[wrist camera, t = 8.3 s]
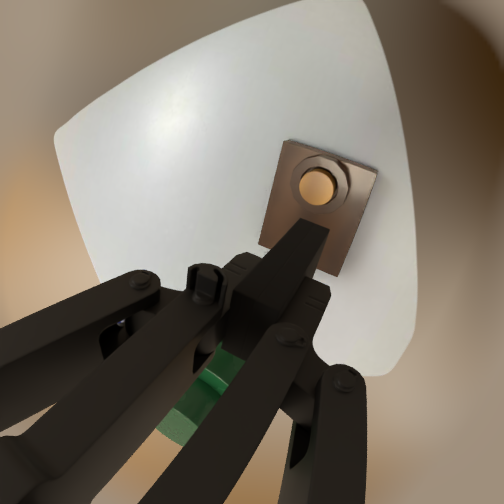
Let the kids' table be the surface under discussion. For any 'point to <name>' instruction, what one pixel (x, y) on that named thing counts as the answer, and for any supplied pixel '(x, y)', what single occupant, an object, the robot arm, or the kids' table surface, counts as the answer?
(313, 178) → the lamp switch
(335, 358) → the kids' table surface
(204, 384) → the lamp
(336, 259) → the lamp base
